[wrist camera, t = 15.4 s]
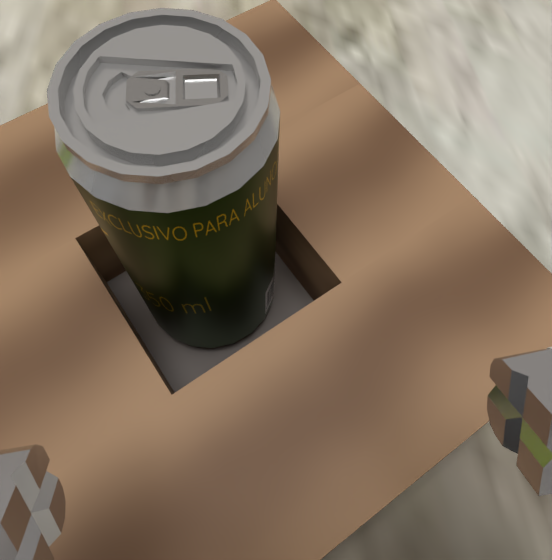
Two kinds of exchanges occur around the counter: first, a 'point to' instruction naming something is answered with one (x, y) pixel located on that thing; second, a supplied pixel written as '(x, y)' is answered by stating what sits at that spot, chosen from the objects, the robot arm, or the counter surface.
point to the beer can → (177, 164)
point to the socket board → (261, 337)
